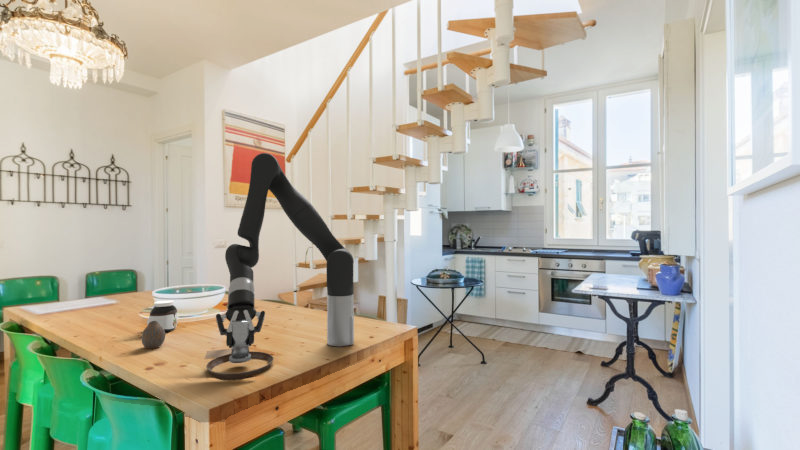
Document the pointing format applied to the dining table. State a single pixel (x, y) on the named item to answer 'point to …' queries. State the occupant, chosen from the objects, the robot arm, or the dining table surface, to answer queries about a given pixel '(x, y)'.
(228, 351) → the stand
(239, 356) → the metal cylinder canister
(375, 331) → the dining table surface
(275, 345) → the dining table surface
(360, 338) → the dining table surface
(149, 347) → the dark brown oval lump
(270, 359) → the brown shallow round tray
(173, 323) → the spread jar
